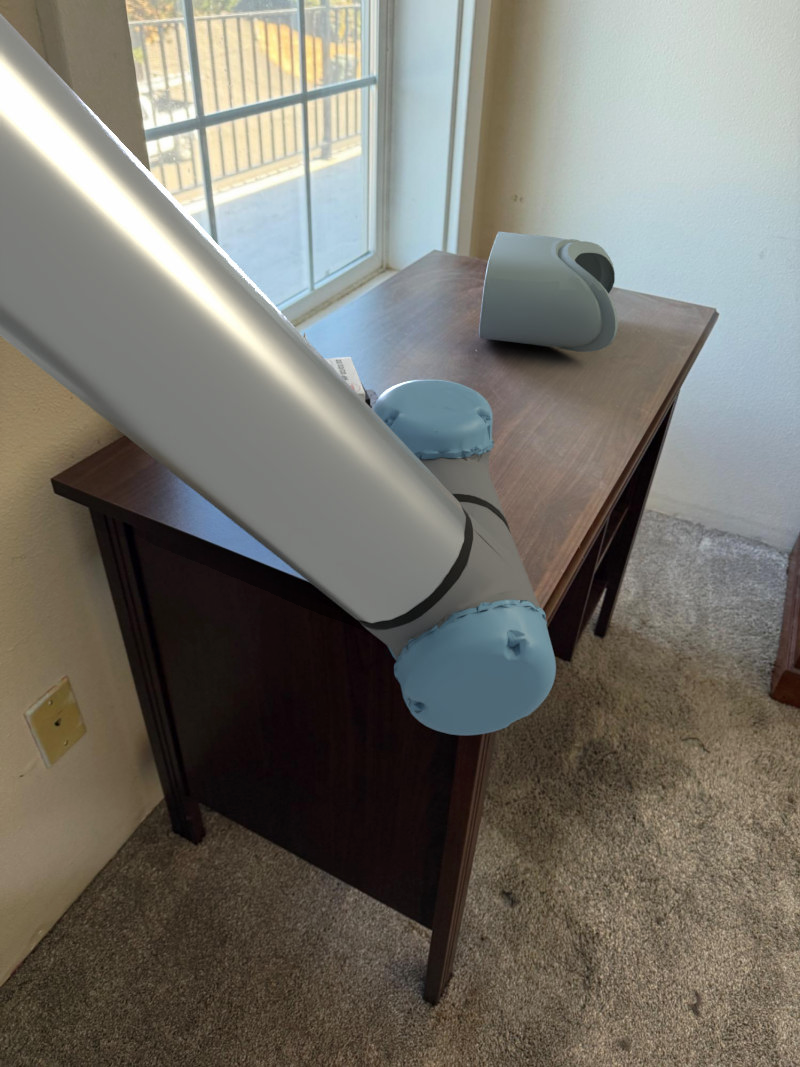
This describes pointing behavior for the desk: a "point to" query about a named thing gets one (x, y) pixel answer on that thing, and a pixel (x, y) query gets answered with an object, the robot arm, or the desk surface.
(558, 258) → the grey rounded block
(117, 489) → the desk surface
